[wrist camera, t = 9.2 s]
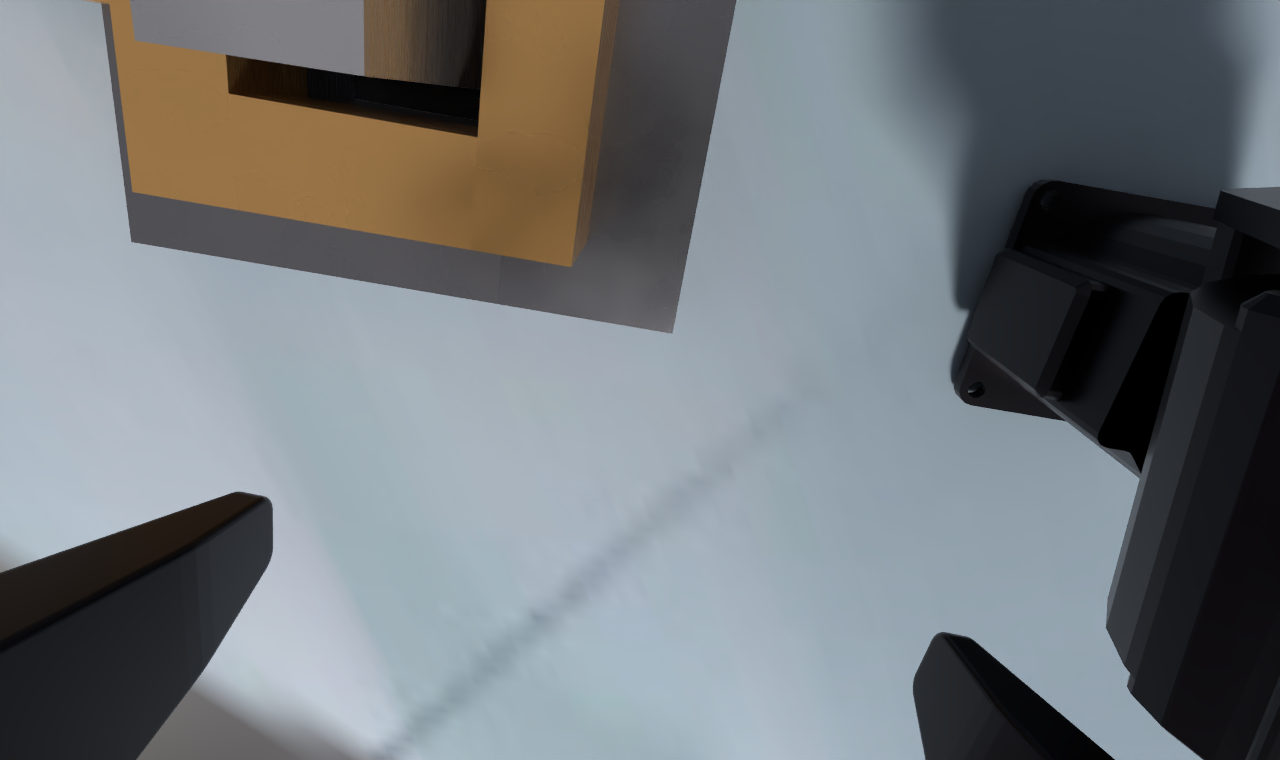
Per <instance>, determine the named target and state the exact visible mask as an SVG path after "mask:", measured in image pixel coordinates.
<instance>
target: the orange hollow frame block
mask: <svg viewBox="0 0 1280 760" xmlns="http://www.w3.org/2000/svg"><path fill="white" fill-rule="evenodd" d="M84 1H90V2H96V3H101V4H102V11H103V19H104V27H105V35H106V43H107V51H108V59H109V67H110V75H111V83H112V91H113V99H114V107H115V115H116V123H117V131H118V138H119V146H120V154H121V162H122V170H123V178H124V186H125V194H126V202H127V210H128V218H129V226H130V234H131V242H135V243H141V244H147V245H153V246H159V247H165V248H171V249H177V250H183V251H189V252H194V253H200V254H206V255H212V256H218V257H224V258H230V259H236V260H242V261H248V262H253V263H259V264H265V265H271V266H277V267H283V268H289V269H295V270H301V271H307V272H312V273H318V274H324V275H330V276H336V277H342V278H348V279H354V280H360V281H366V282H371V283H377V284H383V285H389V286H395V287H401V288H407V289H413V290H419V291H425V292H431V293H436V294H442V295H448V296H454V297H460V298H466V299H472V300H478V301H484V302H490V303H495V304H501V305H507V306H513V307H519V308H525V309H531V310H537V311H543V312H549V313H554V314H560V315H566V316H572V317H578V318H584V319H590V320H596V321H602V322H608V323H613V324H619V325H625V326H631V327H637V328H643V329H649V330H655V331H661V332H667V333H672V332H673V327H674V322H675V317H676V312H677V306H678V301H679V296H680V291H681V286H682V280H683V275H684V270H685V265H686V259H687V254H688V249H689V244H690V239H691V233H692V228H693V223H694V218H695V213H696V207H697V202H698V197H699V192H700V187H701V181H702V176H703V171H704V166H705V161H706V155H707V150H708V145H709V140H710V135H711V129H712V124H713V119H714V114H715V109H716V103H717V98H718V93H719V88H720V83H721V77H722V72H723V67H724V62H725V57H726V51H727V46H728V41H729V36H730V31H731V25H732V20H733V15H734V10H735V4H736V0H487V5H486V20H485V35H484V50H483V65H482V79H481V94H480V109H479V121H478V120H472V119H466V118H461V117H455V116H449V115H444V114H438V113H432V112H427V111H421V110H415V109H410V108H404V107H398V106H393V105H387V104H381V103H376V102H370V101H364V100H359V99H354V75H353V74H347V73H340V72H334V71H327V70H321V69H314V68H308V67H302V66H295V65H289V64H282V63H276V62H270V61H263V60H257V59H250V58H244V57H237V56H231V55H225V54H218V53H212V52H205V51H199V50H192V49H186V48H180V47H173V46H167V45H160V44H154V43H148V42H141V41H135V37H134V29H133V21H132V13H131V5H130V0H84Z"/></svg>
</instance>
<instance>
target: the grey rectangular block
mask: <svg viewBox="0 0 1280 760" xmlns="http://www.w3.org/2000/svg"><path fill="white" fill-rule="evenodd" d="M130 5H131V13H132V21H133V29H134V37H135V41H141V42H148V43H154V44H160V45H167V46H173V47H180V48H186V49H192V50H199V51H205V52H212V53H218V54H225V55H231V56H237V57H244V58H250V59H257V60H263V61H270V62H276V63H282V64H289V65H295V66H302V67H308V68H314V69H321V70H327V71H334V72H340V73H347V74H353V75H359V76H366V77H375V78H384V79H393V80H401V81H410V82H419V83H428V84H436V85H445V86H454V87H463V88H471V89H480V90H481V79H482V65H483V50H484V35H485V20H486V5H487V0H130Z"/></svg>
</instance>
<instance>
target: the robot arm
mask: <svg viewBox="0 0 1280 760" xmlns="http://www.w3.org/2000/svg"><path fill="white" fill-rule="evenodd" d="M1048 191H1051V193H1052V195H1053V196H1052V201H1051V202H1050V204H1049V205H1048V206H1046V207H1045V208H1042V206H1041V204H1040V202H1041V198H1042V196H1043V195H1044V194H1045V193H1046V192H1048ZM967 339H968V340H969V342H970V343H969V346H968V348H967V351H966V354H965V356H964V359H963V362H962V364H961V367H960V370H959V372H958V375H957V378H956V380H955V385H954V390H955V393H956V394H957V395H958V396H959V397H960V398H961V399H962V400H963V401H964V402H965V403H967V404H969V405H973V406H979V407H985V408H991V409H997V410H1003V411H1009V412H1015V413H1021V414H1027V415H1032V416H1038V417H1044V418H1050V419H1056V420H1062V421H1067V422H1068V423H1069V424H1071V425H1072V426H1073V427H1074V428H1076V429H1077V430H1078V431H1080V432H1081V433H1082V434H1083V435H1085V436H1086V437H1087V438H1089V439H1090V440H1091V441H1092V442H1094V443H1095V444H1096V445H1097V446H1099V447H1100V448H1101V449H1103V450H1104V451H1105V452H1106V453H1108V454H1109V455H1110V456H1112V457H1113V458H1114V459H1115V460H1117V461H1118V462H1119V463H1121V464H1122V465H1123V466H1124V467H1126V468H1127V469H1128V470H1130V471H1131V472H1132V473H1133V474H1135V475H1136V476H1137V477H1139V478H1140V480H1139V484H1138V488H1137V491H1136V495H1135V499H1134V503H1133V506H1132V510H1131V514H1130V518H1129V521H1128V525H1127V529H1126V532H1125V536H1124V540H1123V544H1122V547H1121V551H1120V555H1119V558H1118V562H1117V566H1116V570H1115V573H1114V577H1113V581H1112V585H1111V588H1110V592H1109V596H1108V603H1107V620H1106V629H1107V631H1108V633H1109V635H1110V637H1111V639H1112V641H1113V643H1114V645H1115V647H1116V649H1117V652H1118V654H1119V656H1120V658H1121V660H1122V662H1123V664H1124V666H1125V667H1126V668H1127V670H1128V671H1129V672H1130V676H1129V679H1128V684H1127V687H1128V689H1129V691H1130V693H1131V694H1132V695H1133V696H1134V698H1135V699H1136V700H1137V701H1138V702H1139V703H1140V704H1141V705H1142V706H1143V707H1144V708H1145V709H1146V710H1147V711H1148V712H1149V713H1150V714H1151V715H1152V717H1153V718H1154V719H1155V720H1156V721H1157V722H1158V723H1159V724H1160V725H1161V726H1162V727H1163V728H1164V729H1165V730H1167V731H1168V732H1169V733H1170V734H1171V735H1172V736H1174V737H1175V738H1176V739H1177V740H1179V741H1180V742H1181V743H1182V744H1184V745H1185V746H1186V747H1187V748H1189V749H1190V750H1191V751H1193V752H1194V753H1195V754H1196V755H1198V756H1199V757H1200V758H1201V759H1203V760H1280V187H1268V188H1244V189H1223V190H1220V194H1219V198H1218V201H1217V205H1216V209H1214V208H1208V207H1202V206H1197V205H1191V204H1185V203H1180V202H1174V201H1169V200H1163V199H1157V198H1152V197H1146V196H1140V195H1135V194H1129V193H1124V192H1118V191H1112V190H1107V189H1101V188H1095V187H1090V186H1084V185H1078V184H1073V183H1067V182H1062V181H1056V180H1050V179H1047V180H1040V181H1038V182H1036V183H1034V184H1033V185H1032V186H1031V187H1030V188H1028V190H1027V192H1026V194H1025V195H1024V198H1023V201H1022V203H1021V206H1020V209H1019V211H1018V214H1017V217H1016V220H1015V222H1014V225H1013V228H1012V230H1011V233H1010V236H1009V238H1008V241H1007V244H1006V246H1005V249H1004V250H1003V251H1001V252H1000V253H999V254H997V255H996V257H995V259H994V262H993V265H992V268H991V270H990V273H989V276H988V278H987V281H986V284H985V286H984V289H983V292H982V295H981V297H980V300H979V303H978V305H977V308H976V311H975V314H974V316H973V319H972V322H971V324H970V327H969V330H968V333H967ZM975 382H980V386H979V388H978V389H977V390H976V391H974V392H969V393H968V388H969V387H970V385H971V384H973V383H975ZM272 552H273V508H272V503H271V501H270V500H269V499H268V498H267V497H265V496H260V495H255V494H250V493H245V492H234V493H230V494H228V495H225V496H222V497H219V498H216V499H213V500H210V501H207V502H204V503H201V504H199V505H196V506H193V507H190V508H187V509H184V510H181V511H178V512H175V513H172V514H170V515H167V516H164V517H161V518H158V519H155V520H152V521H149V522H146V523H143V524H141V525H138V526H135V527H132V528H129V529H126V530H123V531H120V532H117V533H114V534H111V535H109V536H106V537H103V538H100V539H97V540H94V541H91V542H88V543H85V544H82V545H80V546H77V547H74V548H71V549H68V550H65V551H62V552H59V553H56V554H53V555H50V556H48V557H45V558H42V559H39V560H36V561H33V562H30V563H27V564H24V565H21V566H19V567H16V568H13V569H10V570H7V571H4V572H1V573H0V760H136V759H137V758H138V757H139V755H140V754H141V753H142V751H143V750H144V749H145V748H146V746H147V745H148V744H149V742H150V741H151V740H152V738H153V737H154V736H155V734H156V733H157V731H158V730H159V729H160V728H161V726H162V725H163V724H164V723H165V721H166V720H167V718H168V717H169V716H170V715H171V713H172V712H173V711H174V709H175V708H176V707H177V705H178V704H179V703H180V701H181V700H182V699H183V698H184V696H185V694H187V692H188V691H189V690H190V688H191V687H192V686H193V684H194V683H195V681H196V680H197V679H198V677H199V676H200V675H201V673H202V672H203V670H204V669H205V667H206V666H207V664H208V663H209V661H210V660H211V658H212V657H213V655H214V653H215V652H216V650H217V649H218V647H219V645H220V644H221V642H222V640H223V639H224V637H225V635H226V634H227V632H228V631H229V629H230V627H231V626H232V624H233V622H234V621H235V619H236V617H237V616H238V614H239V613H240V611H241V609H242V608H243V606H244V604H245V603H246V601H247V599H248V598H249V596H250V595H251V593H252V591H253V590H254V588H255V586H256V585H257V583H258V581H259V580H260V578H261V577H262V575H263V573H264V572H265V570H266V568H267V566H268V564H269V562H270V560H271V556H272ZM913 695H914V701H915V707H916V712H917V717H918V723H919V728H920V733H921V739H922V744H923V749H924V754H925V760H1115V759H1113V758H1112V757H1111V756H1110V755H1109V754H1108V753H1106V752H1105V751H1104V750H1103V749H1102V748H1100V747H1099V746H1098V745H1097V744H1096V743H1095V742H1093V741H1092V740H1091V739H1090V738H1089V737H1087V736H1086V735H1085V734H1084V733H1083V732H1082V731H1080V730H1079V729H1078V728H1077V727H1076V726H1074V725H1073V724H1072V723H1071V722H1070V721H1069V720H1067V719H1066V718H1065V717H1064V716H1063V715H1061V714H1060V713H1059V712H1058V711H1057V710H1056V709H1054V708H1053V707H1052V706H1051V705H1050V704H1048V703H1047V702H1046V701H1045V700H1044V699H1043V698H1041V697H1040V696H1039V695H1038V694H1037V693H1035V692H1034V691H1033V690H1032V689H1031V688H1030V687H1028V686H1027V685H1026V684H1025V683H1024V682H1022V681H1021V680H1020V679H1019V678H1018V677H1017V676H1015V675H1014V674H1013V673H1012V672H1011V671H1009V670H1008V669H1007V668H1006V667H1005V666H1004V665H1002V664H1001V663H1000V662H999V661H998V660H996V659H995V658H994V657H993V656H992V655H991V654H989V653H988V652H987V651H986V650H985V649H983V648H982V647H981V646H980V645H979V644H978V643H976V642H975V641H974V640H973V639H971V638H969V637H966V636H961V635H956V634H951V633H946V632H941V633H938V634H936V635H935V636H934V638H933V639H932V641H931V643H930V645H929V647H928V649H927V651H926V653H925V655H924V657H923V660H922V662H921V664H920V666H919V668H918V670H917V672H916V674H915V677H914V681H913Z"/></svg>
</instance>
